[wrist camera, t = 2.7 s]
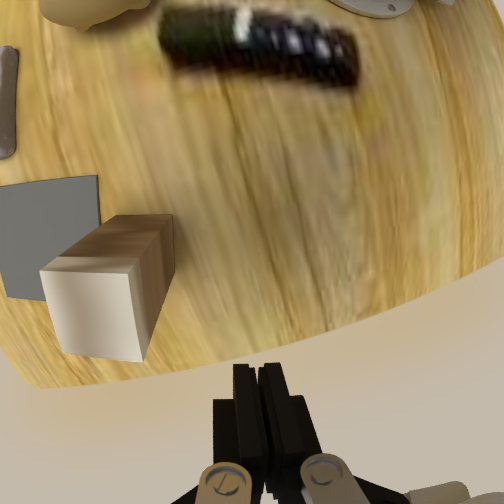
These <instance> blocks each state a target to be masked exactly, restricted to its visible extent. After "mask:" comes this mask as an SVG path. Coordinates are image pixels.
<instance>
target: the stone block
mask: <svg viewBox="0 0 504 504" xmlns="http://www.w3.org/2000/svg"><path fill="white" fill-rule="evenodd" d="M17 68H18V53H17V52H16V50H15V49H14V48H13V47H12V46H2V47H0V160H1V159H5V158H7V157H9V156H11V155H12V154H13V153H14V152H15V149H16V130H15V99H16V79H17Z"/></svg>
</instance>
